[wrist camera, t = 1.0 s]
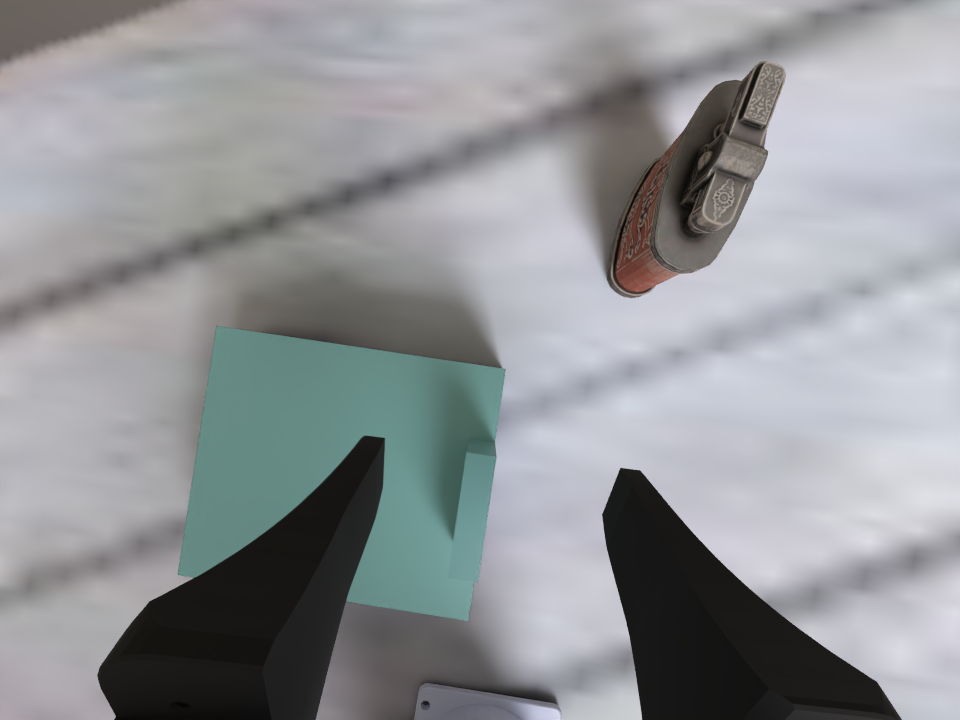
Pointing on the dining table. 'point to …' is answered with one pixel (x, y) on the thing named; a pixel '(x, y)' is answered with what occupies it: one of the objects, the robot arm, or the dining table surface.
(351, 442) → the lid
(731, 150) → the lighter
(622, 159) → the dining table surface
